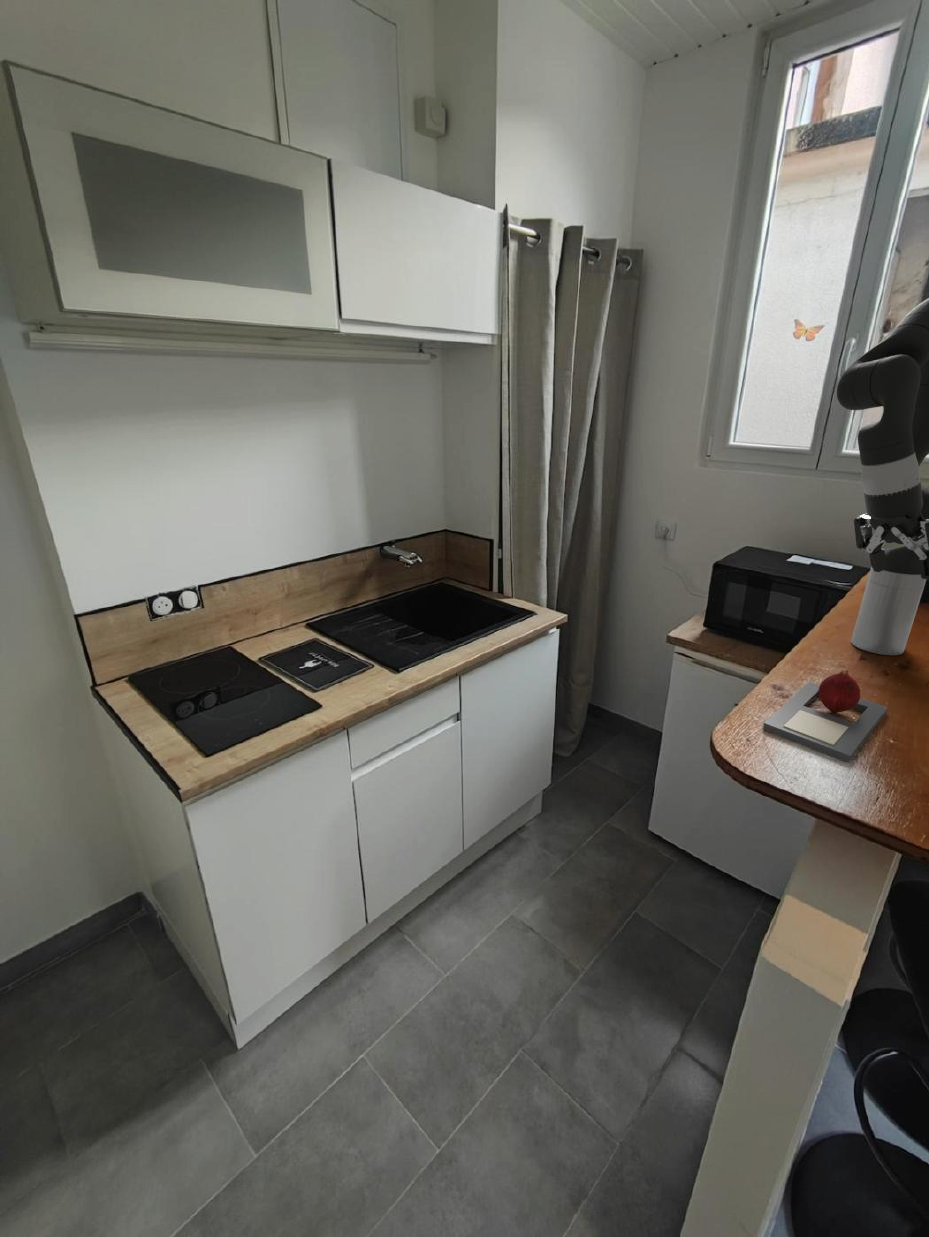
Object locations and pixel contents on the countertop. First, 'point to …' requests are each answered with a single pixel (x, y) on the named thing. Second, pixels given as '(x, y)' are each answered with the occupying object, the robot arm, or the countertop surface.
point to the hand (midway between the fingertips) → (903, 573)
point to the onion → (839, 692)
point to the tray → (824, 725)
